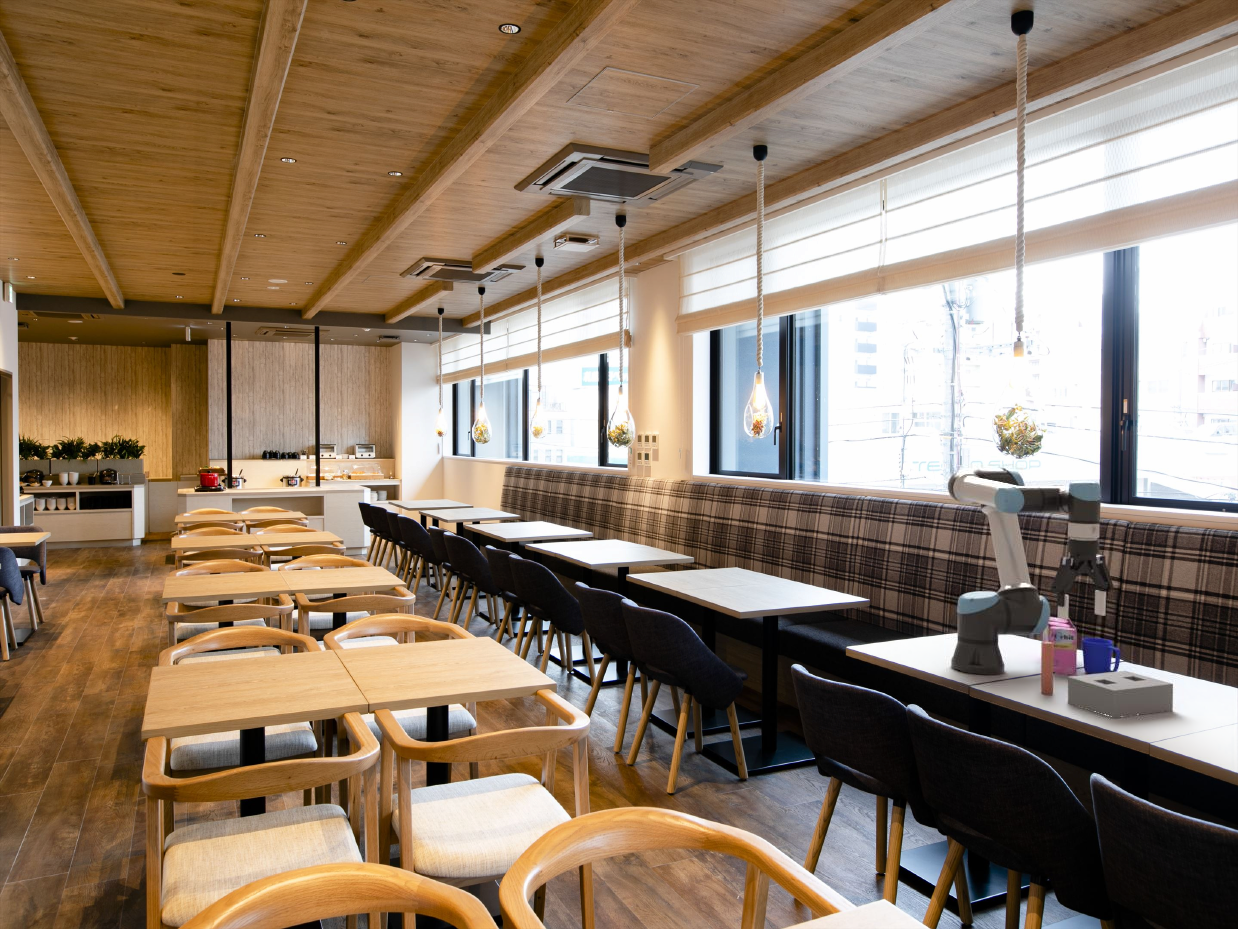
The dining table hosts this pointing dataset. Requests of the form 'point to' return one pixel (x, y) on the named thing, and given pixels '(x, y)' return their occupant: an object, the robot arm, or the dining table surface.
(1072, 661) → the gum box
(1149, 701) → the hole block
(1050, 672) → the pin
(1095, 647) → the mug
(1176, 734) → the dining table surface
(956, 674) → the dining table surface
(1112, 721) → the dining table surface
